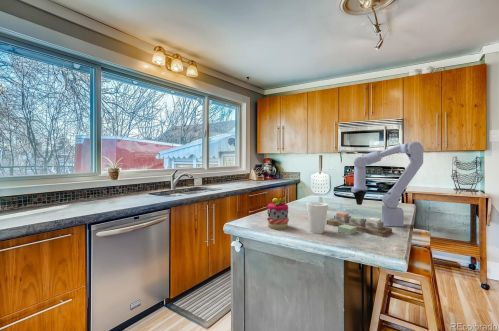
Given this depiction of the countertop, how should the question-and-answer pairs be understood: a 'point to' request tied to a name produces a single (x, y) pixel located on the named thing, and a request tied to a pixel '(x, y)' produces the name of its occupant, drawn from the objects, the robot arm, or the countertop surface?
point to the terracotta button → (342, 214)
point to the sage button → (357, 218)
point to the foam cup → (317, 216)
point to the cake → (278, 214)
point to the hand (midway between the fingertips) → (359, 204)
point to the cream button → (374, 220)
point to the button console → (361, 225)
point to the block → (347, 229)
